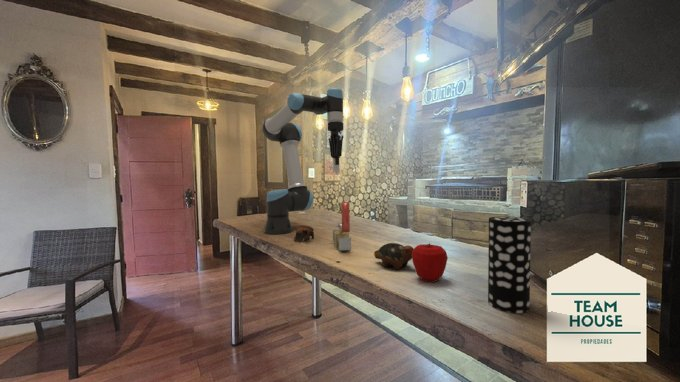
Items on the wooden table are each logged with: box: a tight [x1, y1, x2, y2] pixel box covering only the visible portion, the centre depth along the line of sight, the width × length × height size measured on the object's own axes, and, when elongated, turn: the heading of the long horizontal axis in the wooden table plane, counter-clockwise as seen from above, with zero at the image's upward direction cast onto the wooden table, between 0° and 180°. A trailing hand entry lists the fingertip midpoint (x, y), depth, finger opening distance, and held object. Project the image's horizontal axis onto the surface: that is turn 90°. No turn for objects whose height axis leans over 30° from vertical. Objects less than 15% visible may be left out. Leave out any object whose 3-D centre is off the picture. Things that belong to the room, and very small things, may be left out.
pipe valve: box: [332, 227, 352, 252], centre depth 125 cm, size 19×6×8 cm, turn 9°
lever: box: [337, 202, 351, 233], centre depth 118 cm, size 15×3×11 cm, turn 8°
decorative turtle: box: [373, 242, 415, 271], centre depth 97 cm, size 10×15×8 cm, turn 53°
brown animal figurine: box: [293, 224, 315, 243], centre depth 139 cm, size 12×10×8 cm
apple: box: [411, 242, 449, 283], centre depth 84 cm, size 10×10×11 cm
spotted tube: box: [487, 216, 532, 314], centre depth 67 cm, size 8×8×20 cm
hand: (336, 171), depth 140 cm, fingers closed
